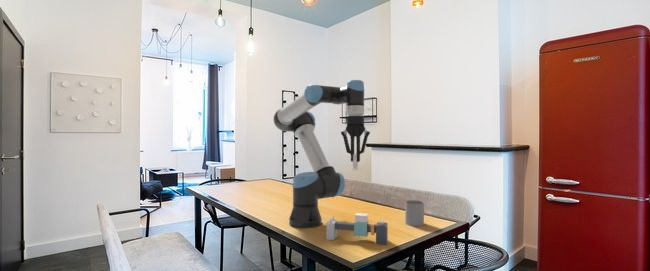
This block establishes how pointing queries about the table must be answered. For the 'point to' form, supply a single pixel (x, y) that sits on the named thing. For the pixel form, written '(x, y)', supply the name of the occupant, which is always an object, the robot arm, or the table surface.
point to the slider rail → (333, 226)
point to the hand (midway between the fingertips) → (355, 169)
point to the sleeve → (361, 225)
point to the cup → (414, 213)
